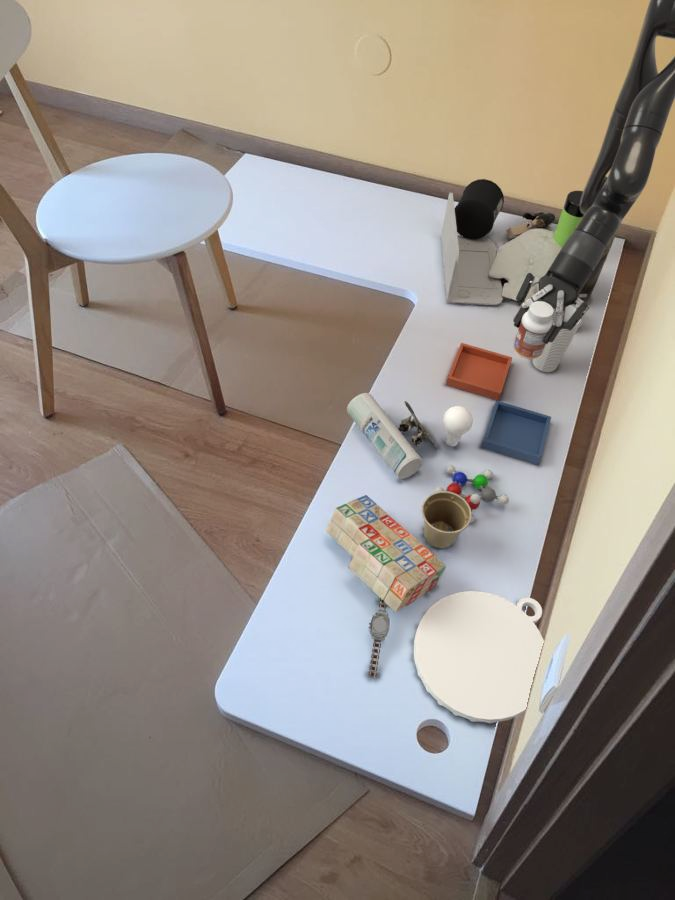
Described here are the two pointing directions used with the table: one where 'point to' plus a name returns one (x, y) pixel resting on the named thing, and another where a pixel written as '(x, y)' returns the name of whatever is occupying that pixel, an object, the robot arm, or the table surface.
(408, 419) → the decorative picture frame
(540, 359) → the cup
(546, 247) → the grey flat irregular slab
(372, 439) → the spray can
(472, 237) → the container
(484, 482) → the molecule model
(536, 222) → the toy figure
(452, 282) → the game console
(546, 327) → the pill bottle
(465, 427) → the lightbulb
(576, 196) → the tumbler
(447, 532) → the flower pot
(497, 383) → the red tray
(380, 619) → the wristwatch
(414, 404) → the table surface
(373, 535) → the stack of blocks
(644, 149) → the robot arm
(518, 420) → the blue tray
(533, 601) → the medallion
